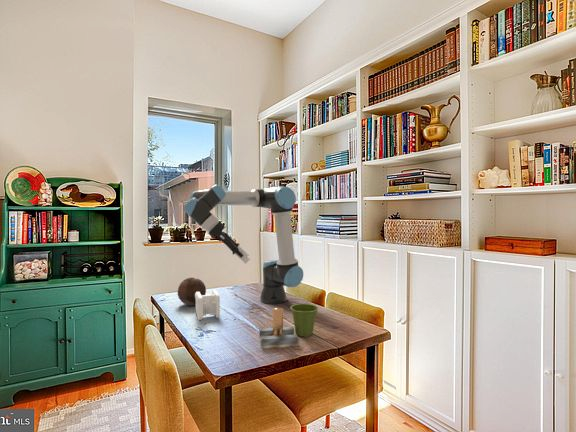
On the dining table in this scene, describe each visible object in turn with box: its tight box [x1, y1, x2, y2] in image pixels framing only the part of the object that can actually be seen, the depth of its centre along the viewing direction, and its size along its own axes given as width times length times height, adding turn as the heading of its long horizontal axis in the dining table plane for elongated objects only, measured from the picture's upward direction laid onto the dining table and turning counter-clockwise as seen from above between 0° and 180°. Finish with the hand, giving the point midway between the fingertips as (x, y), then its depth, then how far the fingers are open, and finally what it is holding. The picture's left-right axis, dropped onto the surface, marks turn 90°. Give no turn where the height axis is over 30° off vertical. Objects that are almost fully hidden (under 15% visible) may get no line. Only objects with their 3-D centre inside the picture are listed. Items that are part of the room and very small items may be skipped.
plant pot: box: [289, 303, 319, 338], centre depth 146 cm, size 12×12×11 cm
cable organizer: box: [195, 289, 221, 321], centre depth 171 cm, size 15×11×12 cm
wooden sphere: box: [177, 277, 207, 306], centre depth 191 cm, size 15×15×15 cm
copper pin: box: [272, 306, 284, 336], centre depth 138 cm, size 4×4×12 cm
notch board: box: [258, 326, 299, 350], centre depth 138 cm, size 14×12×4 cm
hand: (247, 259), depth 159 cm, fingers open, 13 cm apart
